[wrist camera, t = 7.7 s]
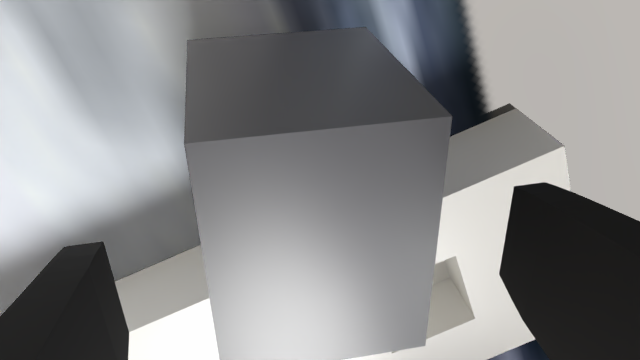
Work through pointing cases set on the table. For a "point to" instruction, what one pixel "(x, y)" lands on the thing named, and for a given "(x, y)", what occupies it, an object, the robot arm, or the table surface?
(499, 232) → the power strip
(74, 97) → the table surface
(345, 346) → the block
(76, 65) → the table surface
